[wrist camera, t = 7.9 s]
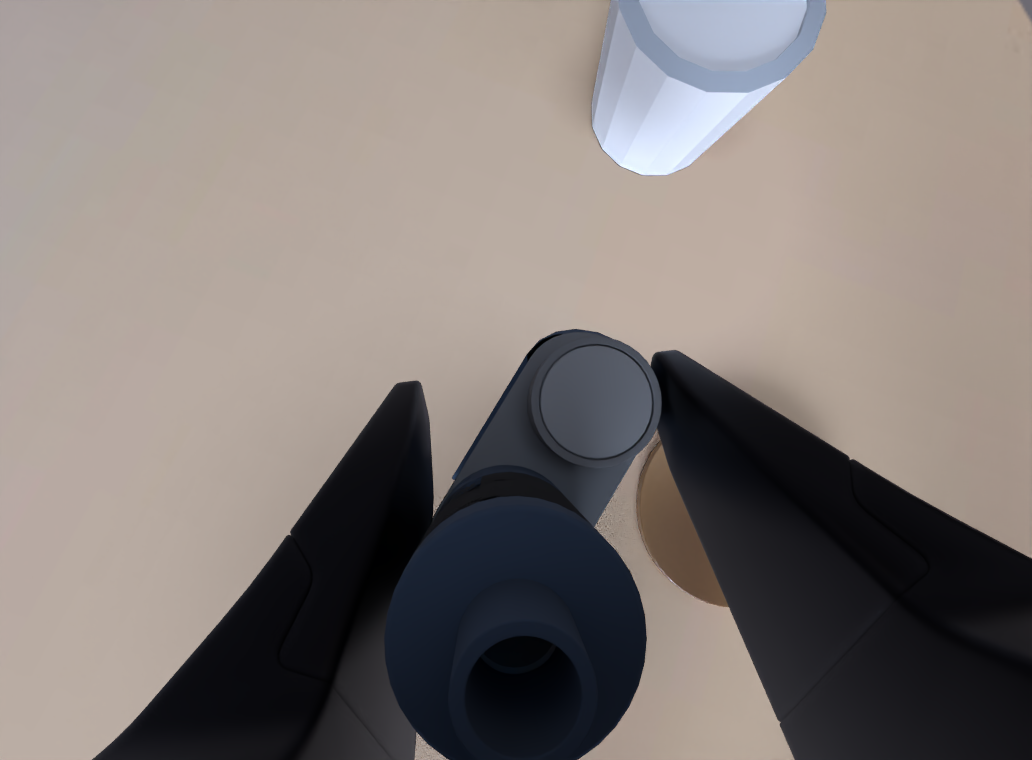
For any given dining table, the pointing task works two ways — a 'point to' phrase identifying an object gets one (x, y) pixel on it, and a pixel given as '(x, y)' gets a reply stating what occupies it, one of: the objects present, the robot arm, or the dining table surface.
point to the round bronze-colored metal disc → (673, 533)
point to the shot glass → (691, 72)
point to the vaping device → (530, 567)
